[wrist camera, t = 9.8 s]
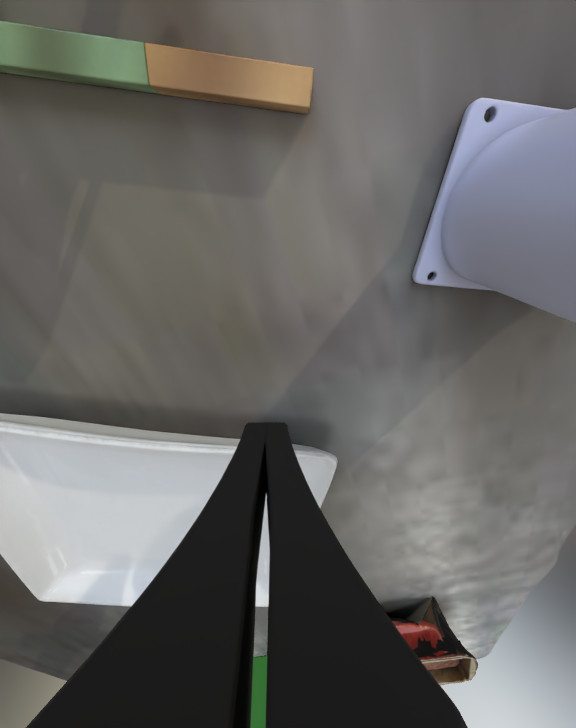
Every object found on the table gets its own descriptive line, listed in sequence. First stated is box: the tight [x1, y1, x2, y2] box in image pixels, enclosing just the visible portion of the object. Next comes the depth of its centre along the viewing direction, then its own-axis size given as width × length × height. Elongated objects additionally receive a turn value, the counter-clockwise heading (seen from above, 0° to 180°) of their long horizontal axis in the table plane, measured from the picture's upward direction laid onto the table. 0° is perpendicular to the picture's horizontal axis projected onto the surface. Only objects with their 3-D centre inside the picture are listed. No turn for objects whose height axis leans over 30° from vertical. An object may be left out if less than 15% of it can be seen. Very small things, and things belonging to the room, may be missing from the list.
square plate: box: [0, 413, 338, 607], centre depth 25 cm, size 27×27×4 cm
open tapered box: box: [390, 597, 478, 685], centre depth 42 cm, size 14×18×10 cm
